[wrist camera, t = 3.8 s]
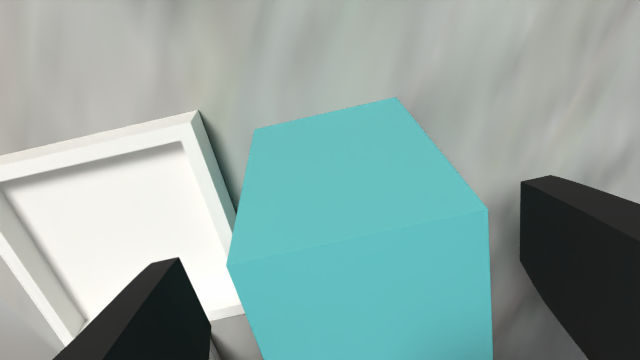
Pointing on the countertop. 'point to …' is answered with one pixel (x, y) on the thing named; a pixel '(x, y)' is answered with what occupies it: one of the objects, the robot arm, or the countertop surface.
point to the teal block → (360, 242)
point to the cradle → (116, 218)
